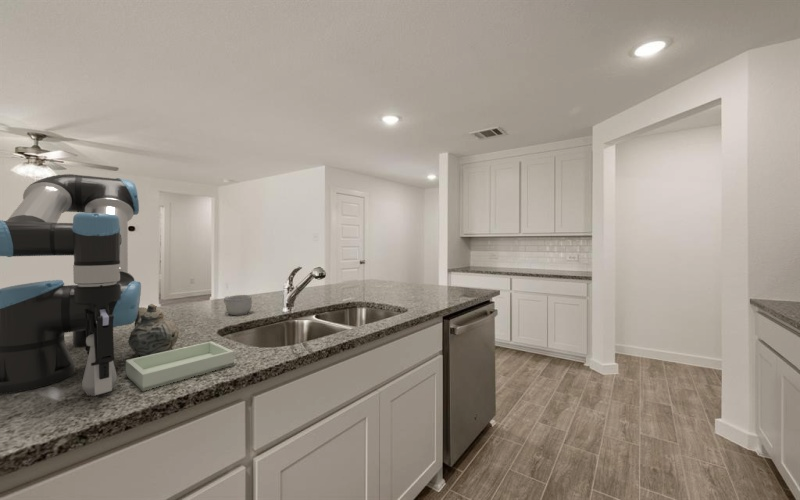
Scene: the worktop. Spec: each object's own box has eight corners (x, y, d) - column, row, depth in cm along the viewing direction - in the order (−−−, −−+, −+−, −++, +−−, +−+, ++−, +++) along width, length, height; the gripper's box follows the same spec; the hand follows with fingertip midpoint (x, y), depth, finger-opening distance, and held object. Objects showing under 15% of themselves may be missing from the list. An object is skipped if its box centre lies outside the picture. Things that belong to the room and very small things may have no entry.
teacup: (256, 313, 151) (256, 296, 151) (234, 318, 142) (234, 299, 142) (239, 309, 159) (238, 293, 158) (216, 313, 150) (216, 296, 149)
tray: (143, 391, 73) (142, 374, 73) (125, 375, 82) (125, 360, 82) (234, 365, 89) (233, 351, 89) (211, 353, 98) (211, 341, 97)
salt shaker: (100, 398, 70) (99, 337, 69) (74, 397, 70) (72, 337, 70) (124, 386, 76) (123, 330, 75) (99, 385, 76) (98, 329, 75)
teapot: (193, 355, 96) (193, 304, 96) (147, 368, 86) (146, 311, 86) (158, 343, 107) (157, 297, 107) (113, 353, 97) (112, 303, 97)
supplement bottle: (96, 345, 104) (95, 308, 104) (68, 348, 102) (67, 309, 101) (106, 339, 110) (105, 304, 110) (79, 341, 108) (79, 305, 108)
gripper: (131, 286, 69) (133, 394, 70) (110, 278, 81) (111, 371, 82) (82, 290, 63) (85, 408, 64) (67, 281, 75) (69, 381, 76)
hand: (100, 387), depth 73 cm, fingers closed on salt shaker, 6 cm apart
